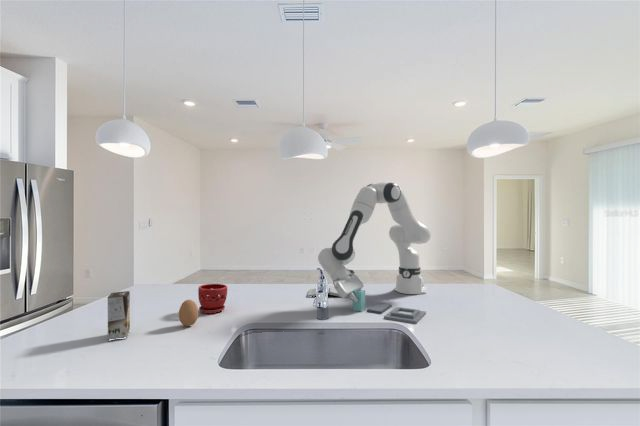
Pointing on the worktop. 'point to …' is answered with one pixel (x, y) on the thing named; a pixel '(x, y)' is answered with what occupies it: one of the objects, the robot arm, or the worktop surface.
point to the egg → (188, 313)
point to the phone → (379, 308)
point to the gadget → (331, 292)
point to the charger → (361, 302)
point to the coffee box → (118, 314)
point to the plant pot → (212, 297)
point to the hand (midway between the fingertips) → (360, 299)
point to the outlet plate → (405, 315)
